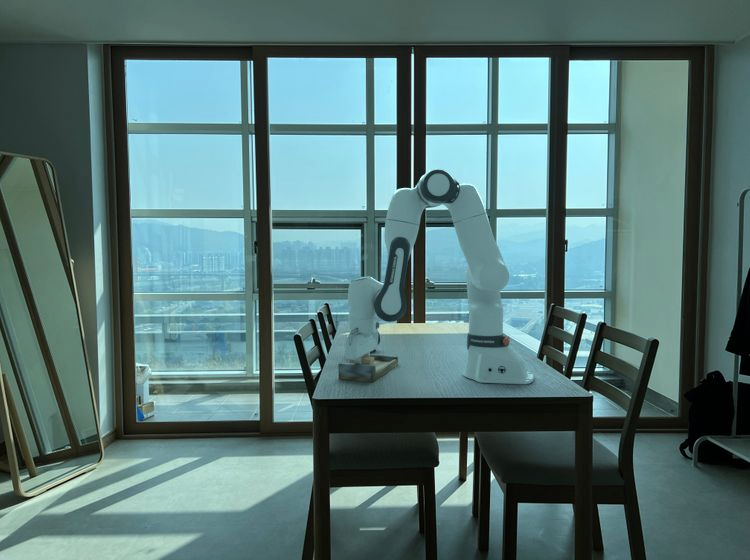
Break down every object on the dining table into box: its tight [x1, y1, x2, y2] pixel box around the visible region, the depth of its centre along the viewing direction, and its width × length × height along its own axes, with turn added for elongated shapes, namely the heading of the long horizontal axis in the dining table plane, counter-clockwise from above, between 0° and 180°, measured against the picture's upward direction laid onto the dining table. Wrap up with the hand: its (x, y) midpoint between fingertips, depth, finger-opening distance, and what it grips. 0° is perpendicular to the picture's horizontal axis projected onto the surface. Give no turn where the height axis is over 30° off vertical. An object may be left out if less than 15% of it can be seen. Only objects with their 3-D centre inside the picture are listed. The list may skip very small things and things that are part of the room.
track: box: [338, 353, 399, 383], centre depth 178 cm, size 12×26×5 cm, turn 160°
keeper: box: [349, 356, 374, 365], centre depth 171 cm, size 7×4×5 cm, turn 70°
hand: (362, 367), depth 171 cm, fingers closed on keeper, 4 cm apart
